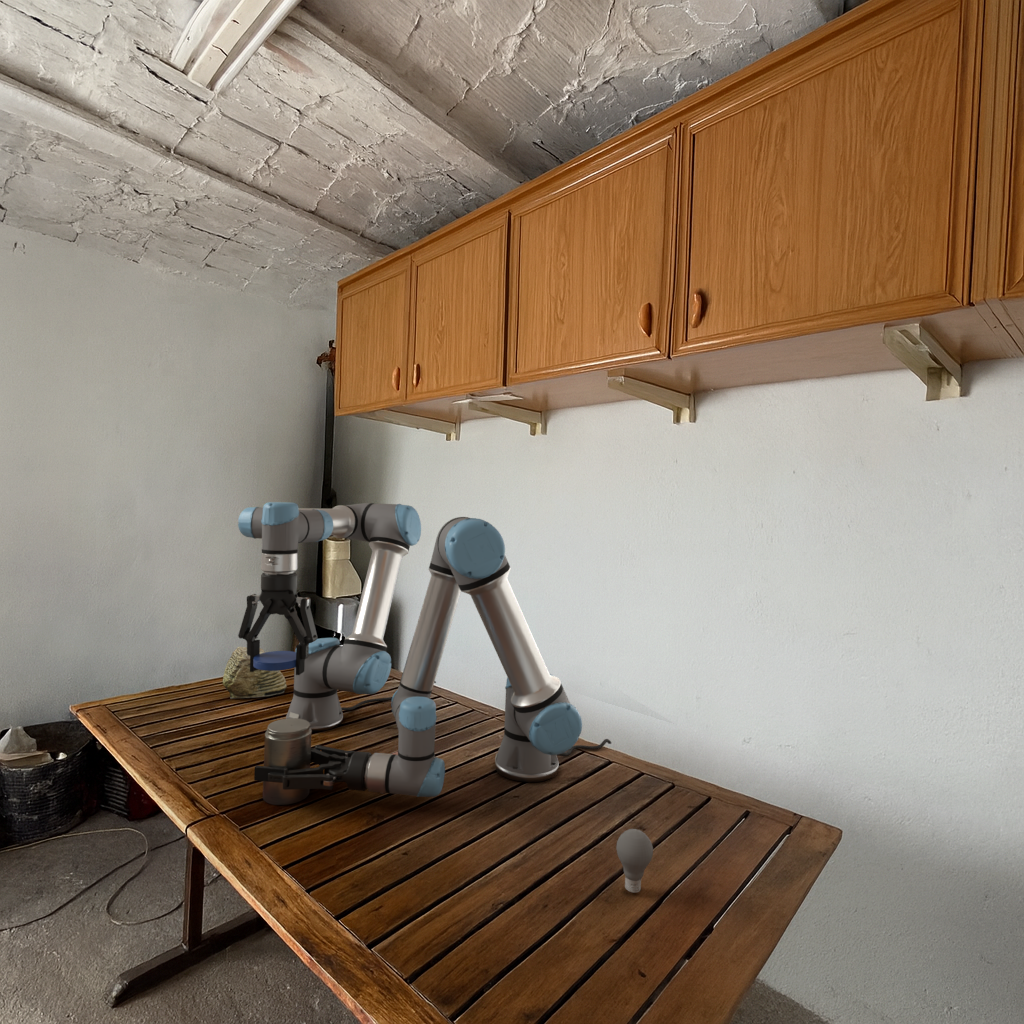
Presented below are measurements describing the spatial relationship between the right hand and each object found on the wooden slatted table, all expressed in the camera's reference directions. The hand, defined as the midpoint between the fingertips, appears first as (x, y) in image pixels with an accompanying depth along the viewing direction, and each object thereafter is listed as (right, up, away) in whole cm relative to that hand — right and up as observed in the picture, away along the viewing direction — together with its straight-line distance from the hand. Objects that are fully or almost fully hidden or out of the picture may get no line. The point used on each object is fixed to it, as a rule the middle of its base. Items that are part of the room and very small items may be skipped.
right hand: (267, 762), depth 134 cm
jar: (+4, -7, 0) cm, 8 cm away
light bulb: (+72, -10, -29) cm, 78 cm away
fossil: (-29, -4, +64) cm, 70 cm away
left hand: (0, +18, +6) cm, 19 cm away
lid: (0, +21, +6) cm, 22 cm away
